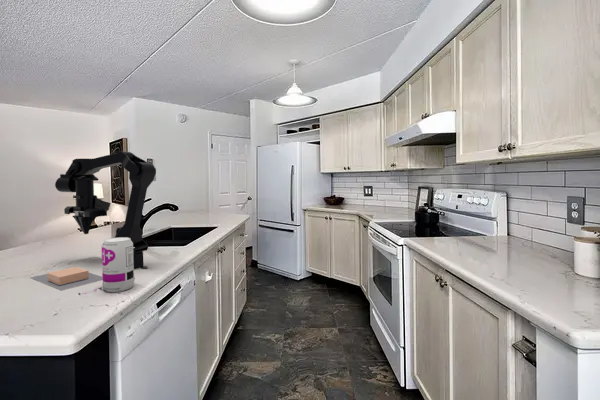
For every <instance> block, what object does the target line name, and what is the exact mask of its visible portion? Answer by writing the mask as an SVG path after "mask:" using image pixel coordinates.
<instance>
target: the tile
mask: <svg viewBox="0 0 600 400" xmlns="http://www.w3.org/2000/svg"><path fill="white" fill-rule="evenodd" d="M89 273H90V272H89V270H87V269H85V268H82V267H79V266H73V267H69V268H65V269H60V270H54V271H51V272H47V273H46V274H48V281H50V282H52V283H55V284H57V285H60V286H61V285H65V284H69V283H73V282H77V281H81V280H85V279H87V278H89Z"/></svg>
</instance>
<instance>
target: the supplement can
mask: <svg viewBox="0 0 600 400" xmlns="http://www.w3.org/2000/svg"><path fill="white" fill-rule="evenodd" d="M133 248H134V247H133V242H132V241H131V238H128V237H118V238H115V237H110V238H106V239H104V240H103V242H102V243H101V268H102V269H101V270H102V272H101V273H102V277H103V280H102V290H105V291H106V292H107V293H119V292H124V291H127V290H129V289H131V288H132V287H134V285H135V272H134V271H135V269H134V260H133Z"/></svg>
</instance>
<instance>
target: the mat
mask: <svg viewBox="0 0 600 400" xmlns="http://www.w3.org/2000/svg"><path fill="white" fill-rule="evenodd" d="M29 279H30V280H31V279H32V280H34V281H36V282H39V283H42V284H44V285H46V286H49V287H51V288H53V289H56V290H58V291H65V290H69V289H73V288H77V287H80V286H85V285H88V284H89V285H90V284H93V283H97V282H100V281H103V276H100V275H98V274H96V273H95V274H94V273H93V272H89V278H87V279H85V280H81V281H77V282H73V283H69V284H65V285H61V286H60V285H57V284H55V283H52V282H50V281H48V274H47V273H46V274H45V273H43V274H40V275H35V276H31V277H29Z"/></svg>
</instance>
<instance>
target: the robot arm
mask: <svg viewBox="0 0 600 400" xmlns="http://www.w3.org/2000/svg"><path fill="white" fill-rule="evenodd" d="M71 161H72V162H71V164H70V165H69V167H68V168H67V170H66V172H65V174H64V173H60V174H59V175H60V176H59V177H58V178H57V179H56V181H55V184H54V187H55V189H56V190H57V191H59V192H60V193H75V194H73V195H72V199H75V205H71V206H66V207H65V208H64V215H70V214H74V215H72V218H73V219H74V220H75V222H76V223H77V225H78V226H79V228H80V229H81V231H82V232H83V234H84V235H88V234H89V232H90V229H91V226H92V224H93V222H94V220H95V219H96V218H98V217H107V216H108V212H109V210H110V207H111V202H109V201H104V200H102V199H101V198H98V195H95V191H94V190H95V189H94V188H95V187H94V184H95V183H94V181H95V182H98V181H99V178H98V177H97V176H95V174H96V173H99V172H100V171H101V170H102V169H106V168H111V167H114V166H115V167H116V166H119V165H122V167H123V169H125V170H126V171H127V172H128V173H129V174H128V178H129V181H130V184H131V189H130V194H129V200H128V203H127V209H126V215H125V220H124V224H123V225H122V226H119V227H117V228H116V231H115V237H114V238H118V237H128V238H131V241H132V242H133V260H134V270H137V269H142V270H146V269H148V266H145V265H144V252H146V251H148V249H149V244H148V243H147V242H146V241H145V240H144V238H143V231H142V229H141V219H142V215H143V211H144V207H145V200H146V197H147V190H148V188H149V187H150V185H151V184H152V183H153V182H154V179H155V176H156V175H157V174H156V173H157V168H156V167H155V165H154V164H153V163H151V162H148V161H146V160H144V159H142V158H140V157H139V156H137V155H136V154H134V153H132V152H131V151H124V150H122V151H118V152H115V153H112V154H108V155H102V156H99V157H95V158H93V157H92V158H74V159H72V160H71Z"/></svg>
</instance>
